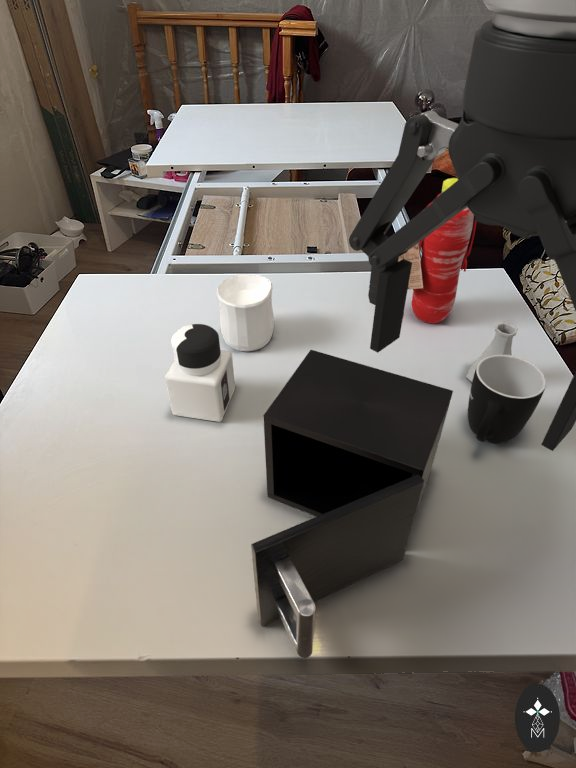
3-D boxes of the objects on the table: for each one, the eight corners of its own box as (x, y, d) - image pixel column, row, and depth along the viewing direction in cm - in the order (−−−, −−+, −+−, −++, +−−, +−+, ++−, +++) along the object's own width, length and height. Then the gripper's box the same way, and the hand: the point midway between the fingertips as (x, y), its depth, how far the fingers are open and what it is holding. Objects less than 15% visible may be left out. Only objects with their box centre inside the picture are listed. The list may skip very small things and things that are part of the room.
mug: (473, 397, 82) (490, 346, 75) (532, 422, 78) (555, 370, 71) (441, 445, 75) (456, 393, 68) (504, 475, 71) (526, 422, 64)
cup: (265, 315, 99) (263, 268, 92) (283, 346, 92) (283, 298, 86) (215, 325, 97) (209, 278, 90) (230, 358, 90) (225, 310, 83)
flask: (457, 378, 86) (471, 327, 79) (482, 358, 89) (497, 308, 83) (497, 400, 82) (516, 349, 75) (522, 379, 85) (541, 328, 79)
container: (235, 388, 84) (229, 321, 75) (221, 423, 78) (212, 354, 70) (189, 382, 85) (177, 314, 76) (171, 415, 80) (157, 347, 71)
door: (434, 603, 58) (463, 527, 48) (284, 680, 52) (283, 612, 42) (398, 552, 62) (418, 473, 53) (257, 618, 57) (250, 543, 47)
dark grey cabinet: (402, 551, 63) (423, 470, 53) (267, 497, 69) (263, 415, 59) (430, 472, 71) (453, 390, 61) (308, 430, 77) (310, 349, 67)
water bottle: (392, 328, 96) (414, 191, 79) (386, 303, 102) (405, 171, 85) (459, 328, 96) (495, 191, 79) (449, 303, 102) (481, 171, 85)
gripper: (301, 2, 28) (297, 332, 42) (960, 88, 14) (627, 528, 29) (390, -10, 32) (359, 295, 46) (972, 48, 18) (674, 453, 32)
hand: (462, 385), depth 37 cm, fingers open, 13 cm apart
